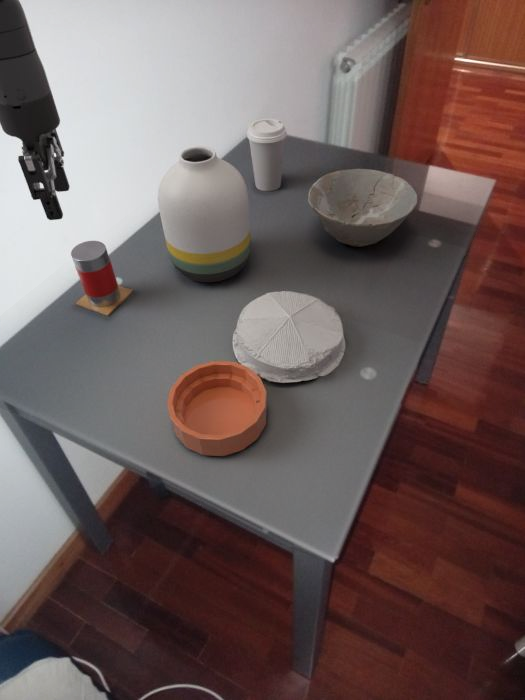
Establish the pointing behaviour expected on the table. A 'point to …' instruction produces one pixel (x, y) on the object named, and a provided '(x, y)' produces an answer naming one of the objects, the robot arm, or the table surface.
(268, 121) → the coffee cup
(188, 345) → the table surface
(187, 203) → the vase
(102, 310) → the coaster
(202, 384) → the dish
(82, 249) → the can
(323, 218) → the ceramic bowl
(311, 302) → the white round slab
